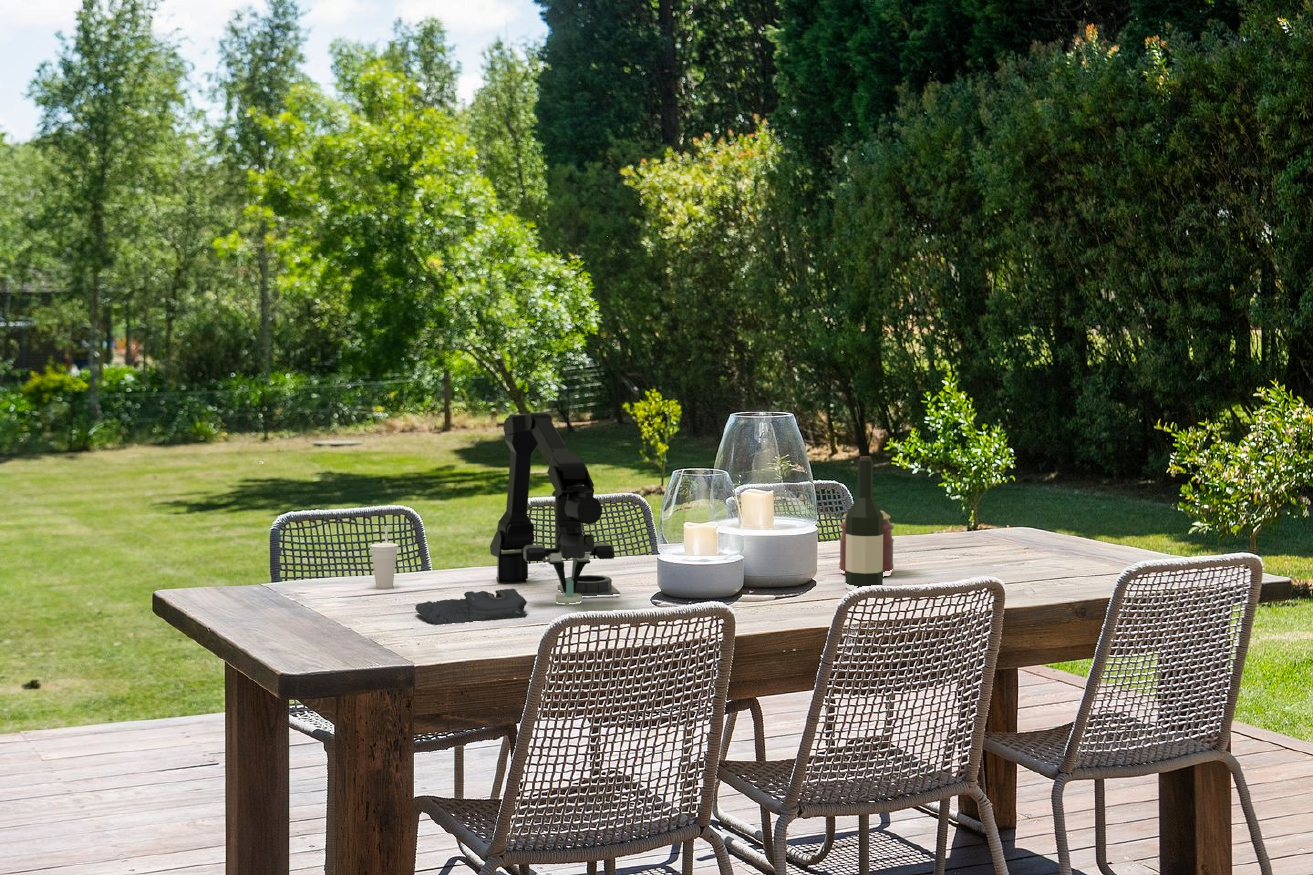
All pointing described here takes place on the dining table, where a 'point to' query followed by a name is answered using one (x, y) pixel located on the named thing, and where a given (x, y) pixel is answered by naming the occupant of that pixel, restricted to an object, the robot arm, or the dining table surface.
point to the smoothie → (384, 562)
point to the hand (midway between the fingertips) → (568, 592)
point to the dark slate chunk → (474, 608)
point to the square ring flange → (593, 586)
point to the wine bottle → (864, 532)
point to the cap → (568, 594)
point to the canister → (886, 544)
